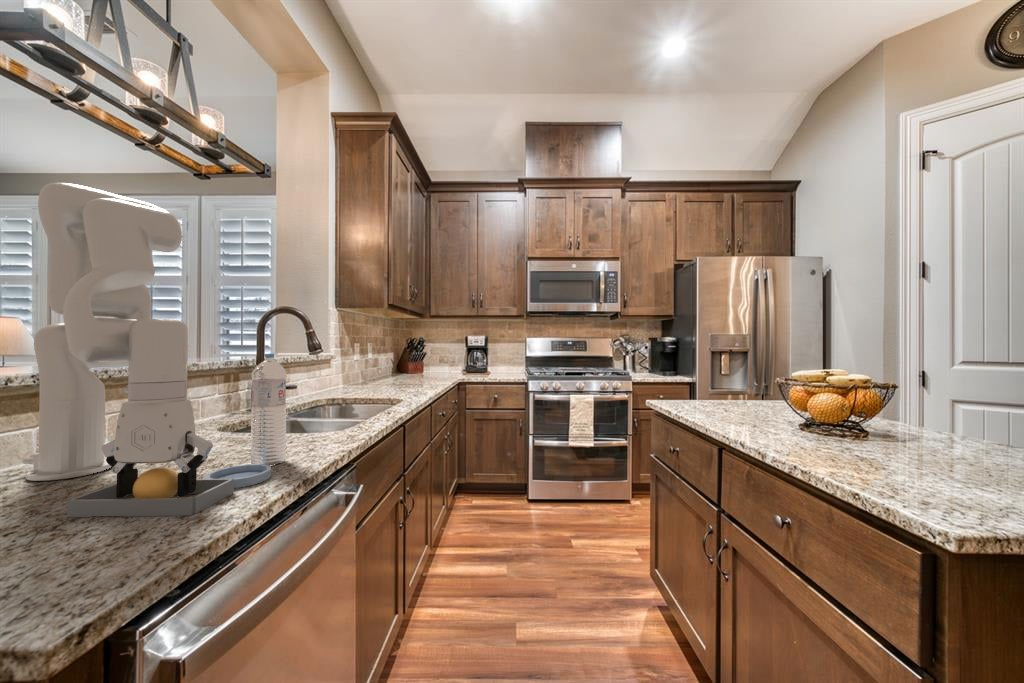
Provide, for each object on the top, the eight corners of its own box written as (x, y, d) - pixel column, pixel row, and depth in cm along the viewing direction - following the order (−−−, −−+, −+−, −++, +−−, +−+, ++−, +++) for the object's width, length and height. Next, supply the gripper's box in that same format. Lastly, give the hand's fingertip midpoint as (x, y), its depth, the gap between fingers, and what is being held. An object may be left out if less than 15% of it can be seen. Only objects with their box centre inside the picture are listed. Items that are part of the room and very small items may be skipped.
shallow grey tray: (64, 517, 62) (65, 501, 62) (125, 494, 73) (126, 480, 73) (192, 515, 63) (192, 499, 63) (235, 492, 73) (235, 478, 73)
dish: (190, 490, 74) (190, 480, 74) (229, 472, 85) (229, 464, 85) (250, 489, 75) (250, 480, 75) (281, 471, 86) (281, 463, 86)
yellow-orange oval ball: (121, 511, 65) (122, 473, 65) (153, 497, 71) (154, 463, 71) (160, 510, 65) (160, 473, 65) (188, 497, 71) (189, 462, 71)
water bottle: (269, 468, 88) (270, 353, 88) (242, 467, 89) (244, 353, 90) (292, 460, 95) (293, 353, 95) (267, 458, 96) (268, 353, 97)
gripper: (82, 395, 64) (80, 504, 64) (194, 394, 65) (193, 502, 64) (126, 390, 72) (124, 487, 71) (226, 389, 72) (224, 486, 72)
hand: (157, 494), depth 68 cm, fingers open, 9 cm apart
